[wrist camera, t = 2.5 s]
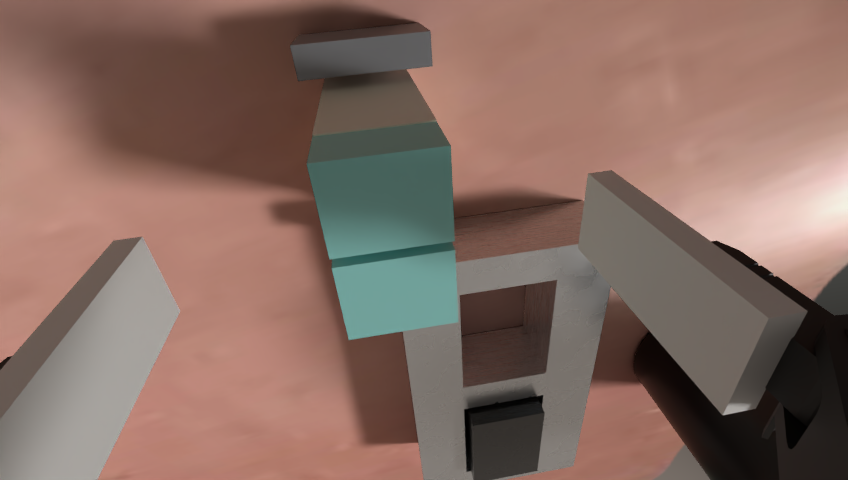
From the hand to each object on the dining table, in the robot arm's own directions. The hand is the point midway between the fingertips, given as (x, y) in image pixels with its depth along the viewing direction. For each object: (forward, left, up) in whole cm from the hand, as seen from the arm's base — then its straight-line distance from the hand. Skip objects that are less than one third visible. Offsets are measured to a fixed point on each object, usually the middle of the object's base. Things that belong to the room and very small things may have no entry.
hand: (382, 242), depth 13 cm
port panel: (+15, +6, -9) cm, 18 cm away
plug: (0, 0, -9) cm, 9 cm away
